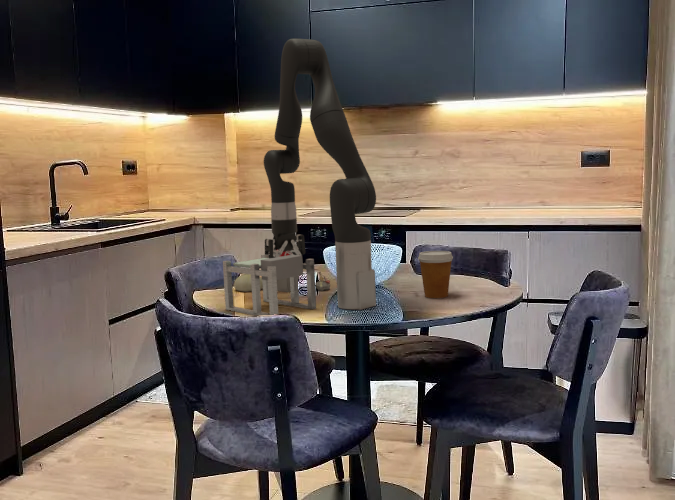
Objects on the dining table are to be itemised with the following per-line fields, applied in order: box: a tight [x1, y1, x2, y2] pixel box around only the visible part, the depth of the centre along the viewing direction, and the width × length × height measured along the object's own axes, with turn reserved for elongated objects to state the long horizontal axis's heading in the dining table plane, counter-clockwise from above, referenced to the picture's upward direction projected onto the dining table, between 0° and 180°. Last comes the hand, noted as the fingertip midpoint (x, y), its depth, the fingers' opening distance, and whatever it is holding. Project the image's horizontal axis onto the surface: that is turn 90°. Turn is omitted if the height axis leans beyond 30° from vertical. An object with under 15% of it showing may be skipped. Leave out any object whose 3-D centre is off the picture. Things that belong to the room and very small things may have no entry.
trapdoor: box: [232, 255, 304, 280], centre depth 176 cm, size 15×11×5 cm
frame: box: [222, 253, 317, 316], centre depth 177 cm, size 20×14×13 cm
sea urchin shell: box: [233, 274, 263, 293], centre depth 207 cm, size 9×8×8 cm
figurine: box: [315, 271, 331, 292], centre depth 202 cm, size 5×4×6 cm
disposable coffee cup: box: [417, 250, 454, 299], centre depth 185 cm, size 10×10×12 cm
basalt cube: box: [277, 276, 300, 293], centre depth 204 cm, size 5×5×5 cm
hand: (286, 271), depth 204 cm, fingers open, 8 cm apart
